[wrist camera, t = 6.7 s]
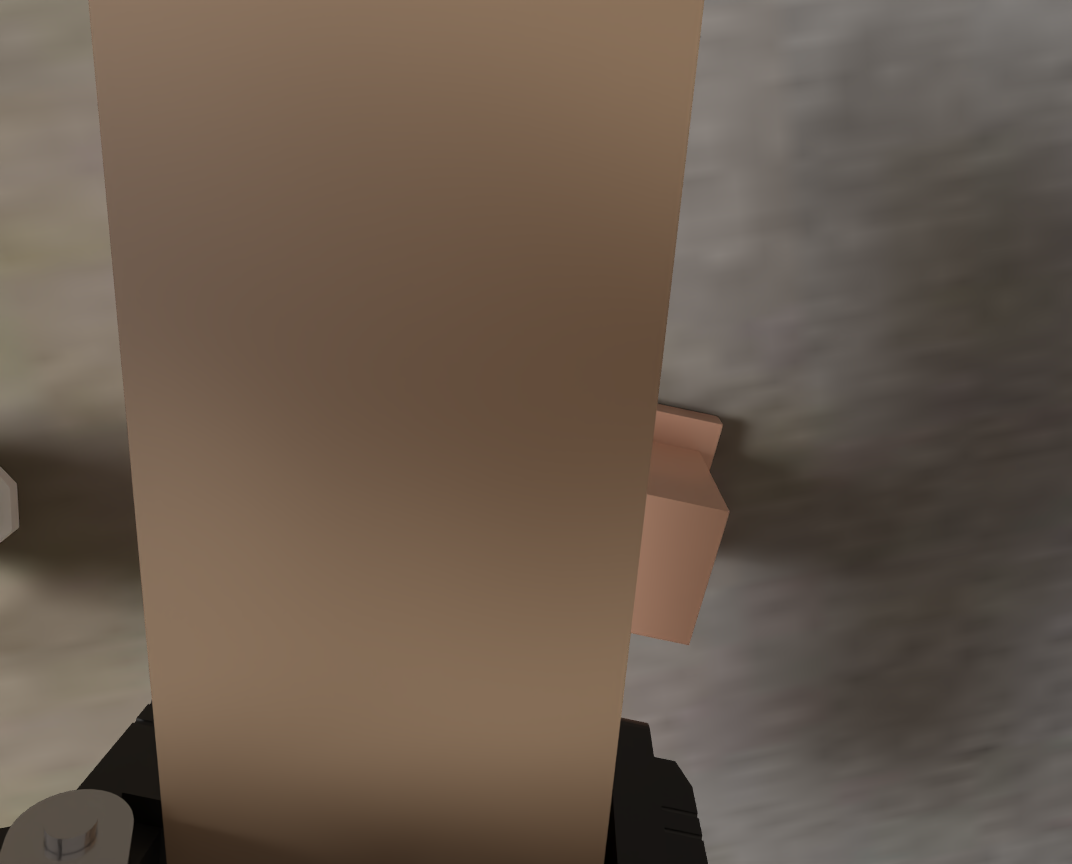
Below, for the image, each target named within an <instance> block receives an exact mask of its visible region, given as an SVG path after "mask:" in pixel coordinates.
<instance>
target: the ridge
mask: <svg viewBox="0 0 1072 864" xmlns="http://www.w3.org/2000/svg"><path fill="white" fill-rule="evenodd" d="M722 427H723V424H722V423H721V421H720V420H719V418H718V417H717V416H713V415H709V414H704V413H699V412H695V411H690V410H685V409H681V408H676V407H671V406H667V405H662V404H657V411H656V419H655V428H654V437H653V445H652V454H651V462H650V471H649V480H648V488H647V497H646V505H645V514H644V523H643V531H642V540H641V548H640V557H639V566H638V574H637V583H636V591H635V600H634V609H633V617H632V626H631V633H633V634H638V635H643V636H648V637H652V638H657V639H662V640H667V641H672V642H676V643H681V644H686V645H689V643H690V640H691V637H692V633H693V630H694V627H695V623H696V620H697V617H698V614H699V610H700V607H701V604H702V601H703V597H704V594H705V591H706V587H707V584H708V581H709V578H710V574H711V571H712V568H713V565H714V561H715V558H716V555H717V552H718V548H719V545H720V542H721V538H722V535H723V532H724V529H725V525H726V522H727V519H728V516H729V510H728V508H727V506H726V504H725V502H724V500H723V498H722V496H721V494H720V492H719V490H718V488H717V486H716V484H715V482H714V480H713V478H712V476H711V474H710V472H709V471H710V468H711V464H712V461H713V458H714V454H715V451H716V447H717V444H718V440H719V437H720V434H721V430H722Z"/></svg>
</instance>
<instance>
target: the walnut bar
mask: <svg viewBox="0 0 1072 864" xmlns="http://www.w3.org/2000/svg"><path fill="white" fill-rule="evenodd" d="M88 1H89V12H90V23H91V34H92V45H93V56H94V67H95V78H96V89H97V100H98V111H99V122H100V133H101V144H102V155H103V166H104V177H105V188H106V199H107V210H108V221H109V232H110V243H111V254H112V265H113V276H114V287H115V298H116V309H117V320H118V331H119V342H120V353H121V364H122V375H123V386H124V397H125V408H126V419H127V430H128V441H129V452H130V463H131V474H132V485H133V496H134V507H135V518H136V529H137V540H138V551H139V562H140V573H141V584H142V595H143V606H144V617H145V628H146V639H147V650H148V661H149V672H150V683H151V694H152V705H153V716H154V727H155V738H156V749H157V760H158V771H159V782H160V793H161V804H162V815H163V826H164V837H165V848H166V859H167V864H604V858H605V849H606V841H607V832H608V824H609V815H610V806H611V798H612V789H613V781H614V772H615V763H616V755H617V746H618V738H619V729H620V720H621V712H622V703H623V695H624V686H625V677H626V669H627V660H628V652H629V643H630V634H631V626H632V617H633V609H634V600H635V591H636V583H637V574H638V566H639V557H640V548H641V540H642V531H643V523H644V514H645V505H646V497H647V488H648V480H649V471H650V462H651V454H652V445H653V437H654V428H655V419H656V411H657V402H658V394H659V385H660V376H661V368H662V359H663V351H664V342H665V333H666V325H667V316H668V308H669V299H670V290H671V282H672V273H673V265H674V256H675V247H676V239H677V230H678V221H679V213H680V204H681V196H682V187H683V178H684V170H685V161H686V153H687V144H688V135H689V127H690V118H691V110H692V101H693V92H694V84H695V75H696V67H697V58H698V49H699V41H700V32H701V24H702V15H703V6H704V0H88Z"/></svg>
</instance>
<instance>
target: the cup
mask: <svg viewBox="0 0 1072 864" xmlns="http://www.w3.org/2000/svg"><path fill="white" fill-rule="evenodd" d="M18 528H19V512H18V493H17V483H16V482H15V481H14V480H13V479H12V478H11V477H10V476H9V475H8V474H7V473H6V472H5V471H4V470H3V469H2V468H1V467H0V543H1V542H2V541H3V540H4V539H6V538H7V537H8V536H9V535H11V534H12V533H13V532H14V531H16V530H17V529H18Z"/></svg>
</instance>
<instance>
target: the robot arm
mask: <svg viewBox="0 0 1072 864" xmlns="http://www.w3.org/2000/svg"><path fill="white" fill-rule="evenodd" d="M697 814H698V813H697V808H696V803H695V798H694V793H693V788H692V786H691V784H690V783H689V781H688V780H687V778H686V777H685V775H684V774H683V772H682V771H681V769H680V768H679V766H678V765H677V763H676V762H675V761H671V760H666V759H662V758H657V757H654V754H653V747H652V740H651V734H650V728H649V725H648V723H644V722H640V721H635V720H630V719H625V718H621V720H620V729H619V738H618V746H617V755H616V763H615V772H614V781H613V789H612V798H611V806H610V815H609V824H608V832H607V841H606V849H605V858H604V864H708V861H707V856H706V852H705V847H704V842H703V841H702V832H701V827H700V822H699V818H697ZM0 864H167V859H166V848H165V837H164V826H163V815H162V804H161V793H160V782H159V771H158V760H157V749H156V738H155V727H154V716H153V705H152V701H151V704H150V705H149V704H148V705H147V706H146V707H145V709H144V710H143V711H142V712H141V713H140V715H139V716H138V717H137V719H136V722H135V723H132V724H131V725H130V727H129V728H128V729H127V730H126V731H125V733H124V734H123V735H122V736H121V737H120V738H119V740H118V741H117V742H116V743H115V744H114V746H113V747H112V748H111V749H110V750H109V752H108V753H107V754H106V755H105V756H104V758H103V759H102V760H101V761H100V762H99V764H98V765H97V766H96V767H95V768H94V770H93V771H92V772H91V773H90V774H89V776H88V777H87V778H86V779H85V780H84V782H83V783H82V784H81V785H80V786H79V788H78V789H77V790H73V791H68V792H64V793H60V794H57V795H54V796H51V797H48V798H46V799H44V800H42V801H40V802H38V803H37V804H35V805H33V806H32V807H30V808H29V809H27V810H26V811H25V812H24V813H22V814H21V815H20V816H19V817H18V818H17V819H16V820H15V821H14V823H13V824H12V826H10V827H5V828H0Z"/></svg>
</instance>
